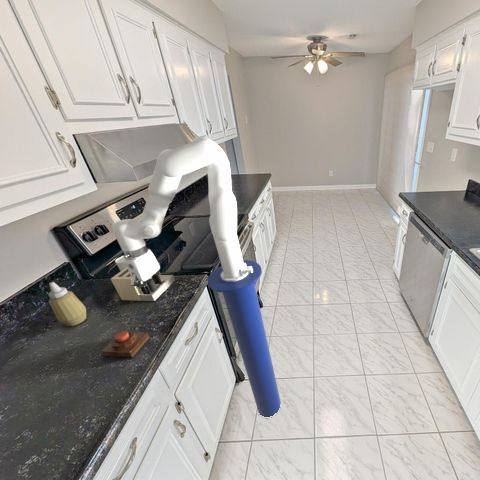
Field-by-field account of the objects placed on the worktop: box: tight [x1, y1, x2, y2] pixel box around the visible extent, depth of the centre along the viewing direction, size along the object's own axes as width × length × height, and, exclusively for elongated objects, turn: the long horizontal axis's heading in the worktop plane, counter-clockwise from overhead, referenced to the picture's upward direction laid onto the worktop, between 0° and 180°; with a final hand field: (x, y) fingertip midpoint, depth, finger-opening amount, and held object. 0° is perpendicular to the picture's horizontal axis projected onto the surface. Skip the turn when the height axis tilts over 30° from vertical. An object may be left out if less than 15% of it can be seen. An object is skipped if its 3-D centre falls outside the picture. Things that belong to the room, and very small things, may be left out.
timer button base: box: [100, 329, 151, 358], centre depth 83 cm, size 10×8×4 cm
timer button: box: [113, 330, 130, 343], centre depth 82 cm, size 4×4×2 cm
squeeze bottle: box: [47, 281, 87, 327], centre depth 92 cm, size 8×8×18 cm
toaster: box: [110, 267, 176, 302], centre depth 109 cm, size 15×14×11 cm
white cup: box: [114, 255, 127, 272], centre depth 120 cm, size 8×8×10 cm
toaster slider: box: [146, 278, 157, 292], centre depth 104 cm, size 3×3×5 cm
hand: (153, 288), depth 105 cm, fingers open, 5 cm apart
